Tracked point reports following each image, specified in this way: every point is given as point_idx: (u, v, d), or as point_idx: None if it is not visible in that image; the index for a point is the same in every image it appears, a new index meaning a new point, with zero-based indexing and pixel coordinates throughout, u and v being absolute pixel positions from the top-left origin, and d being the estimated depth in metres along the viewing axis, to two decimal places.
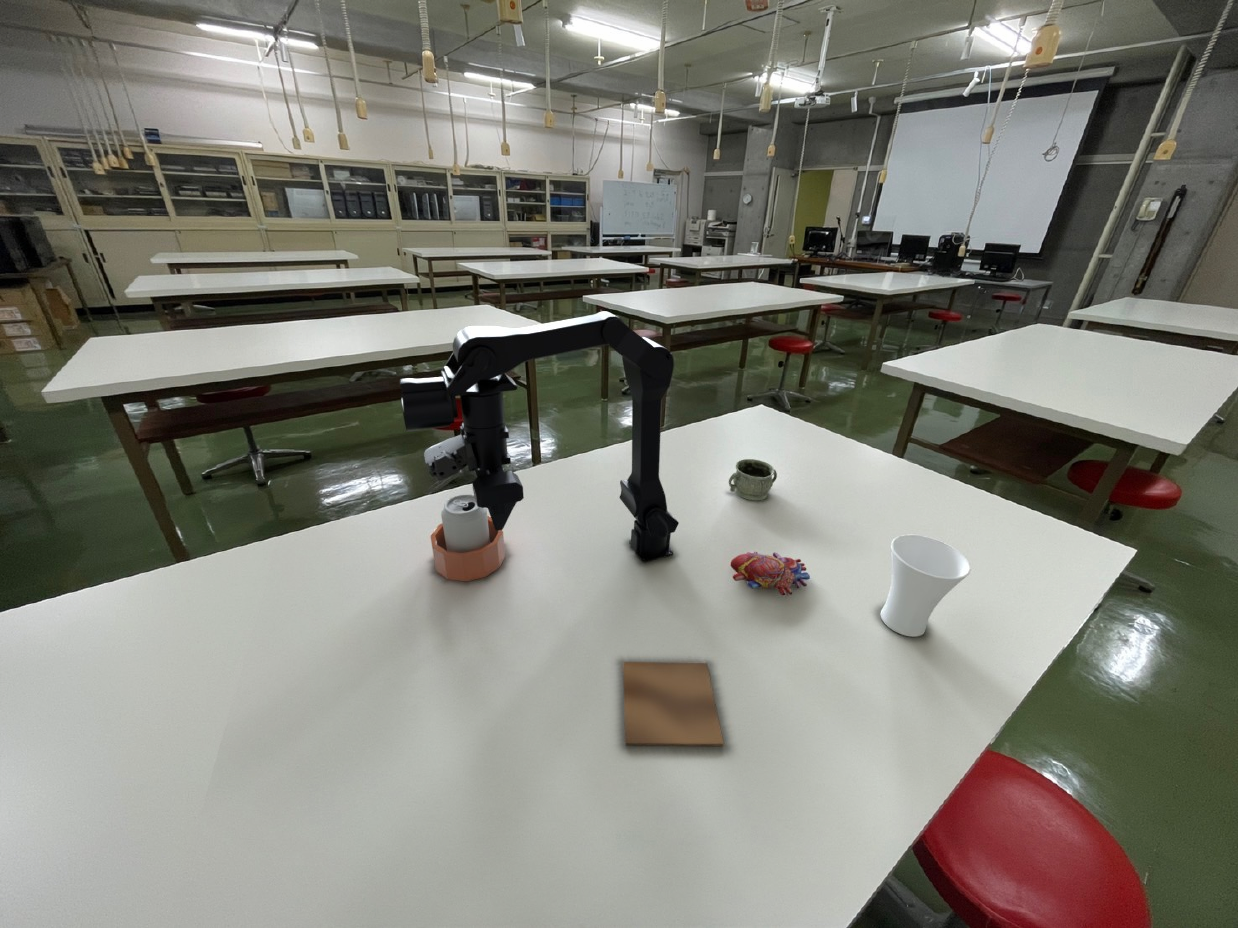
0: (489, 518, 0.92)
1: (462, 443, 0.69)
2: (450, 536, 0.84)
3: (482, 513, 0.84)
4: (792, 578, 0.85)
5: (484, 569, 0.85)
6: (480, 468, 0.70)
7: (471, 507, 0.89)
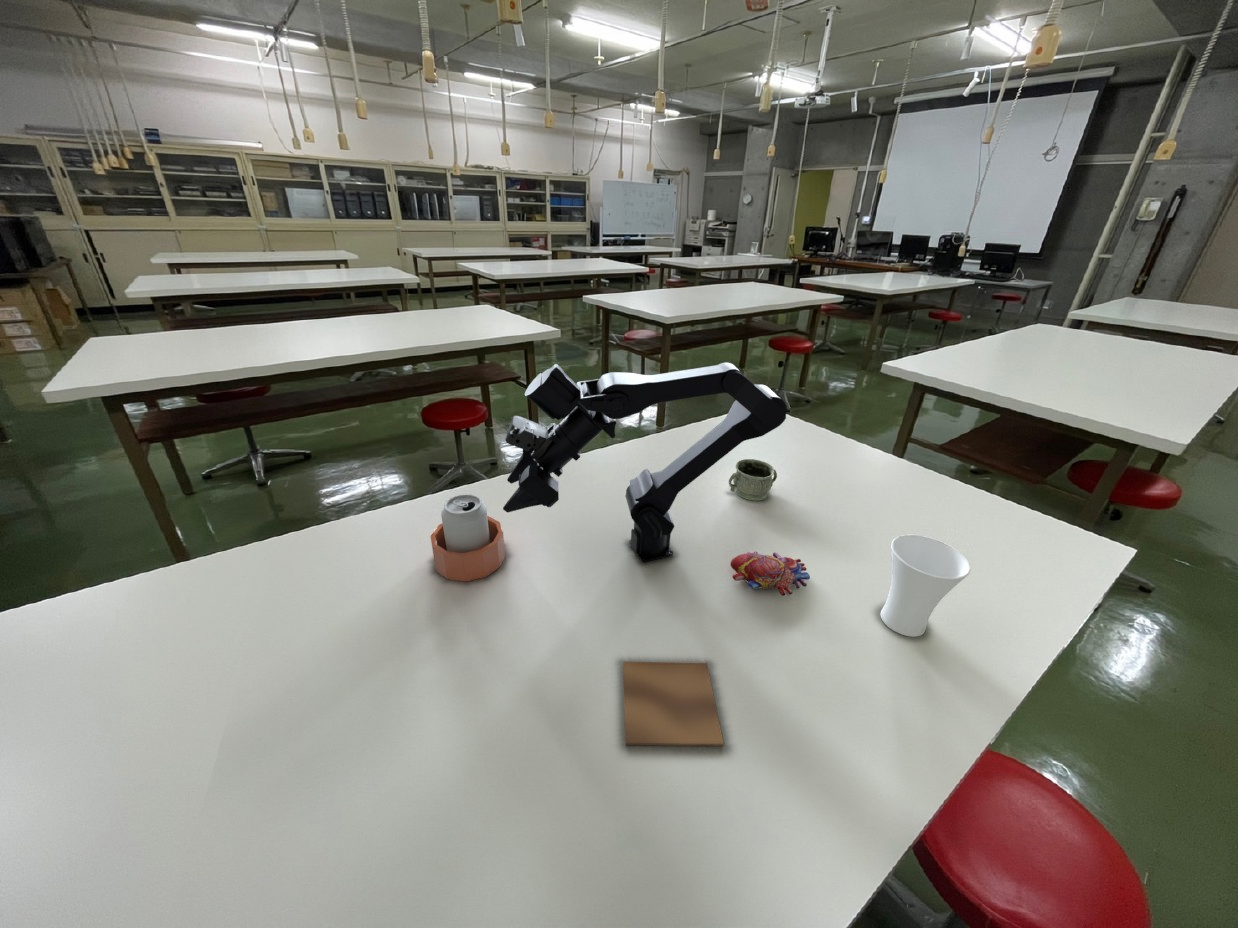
0: (489, 518, 0.92)
1: (545, 435, 0.79)
2: (450, 536, 0.84)
3: (482, 513, 0.84)
4: (792, 578, 0.85)
5: (484, 569, 0.85)
6: (538, 461, 0.80)
7: (471, 507, 0.89)
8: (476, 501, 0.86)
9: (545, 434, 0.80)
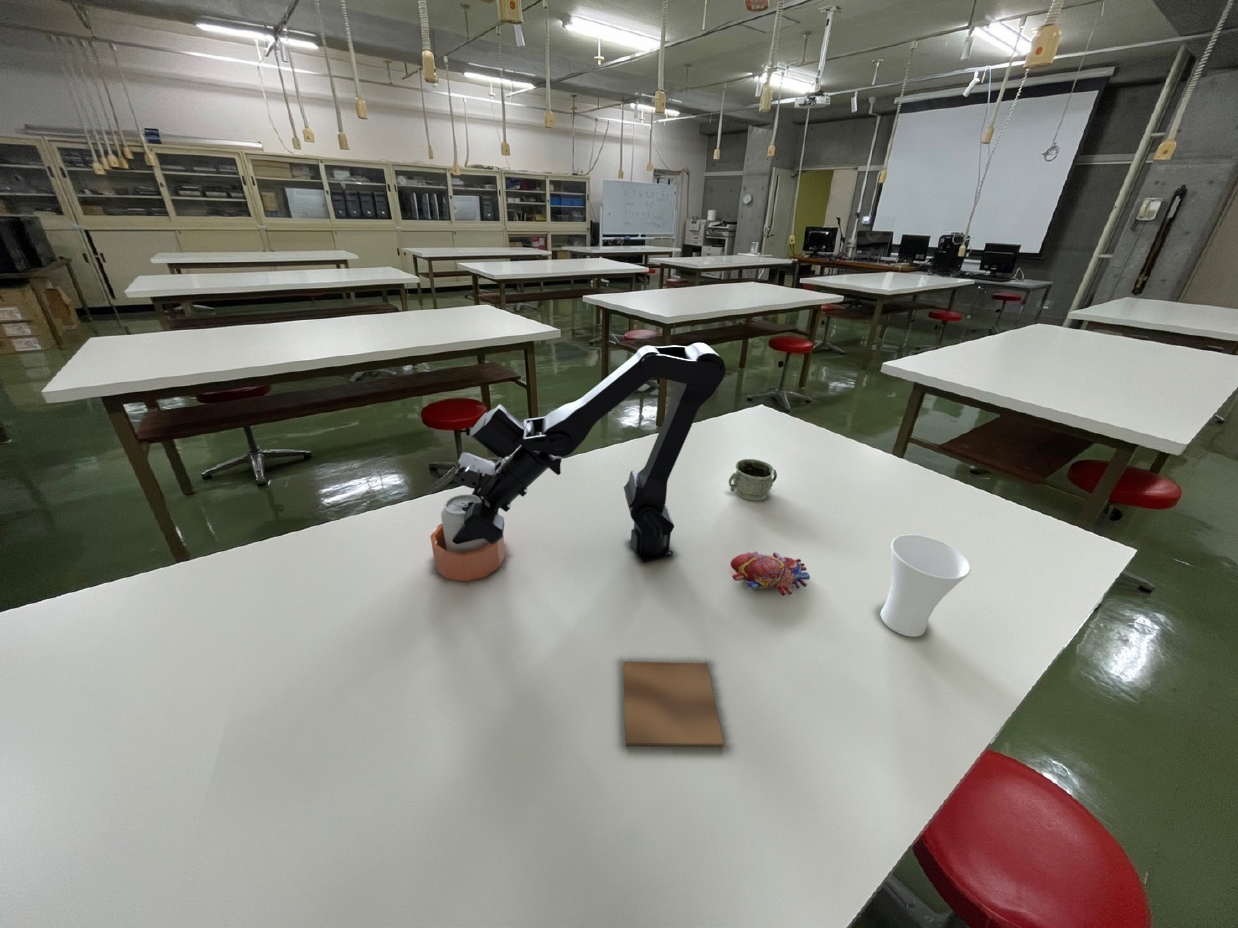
0: None
1: (492, 472, 0.81)
2: (450, 536, 0.84)
3: None
4: (792, 578, 0.85)
5: (484, 569, 0.85)
6: (485, 497, 0.82)
7: None
8: (476, 501, 0.86)
9: (492, 471, 0.82)
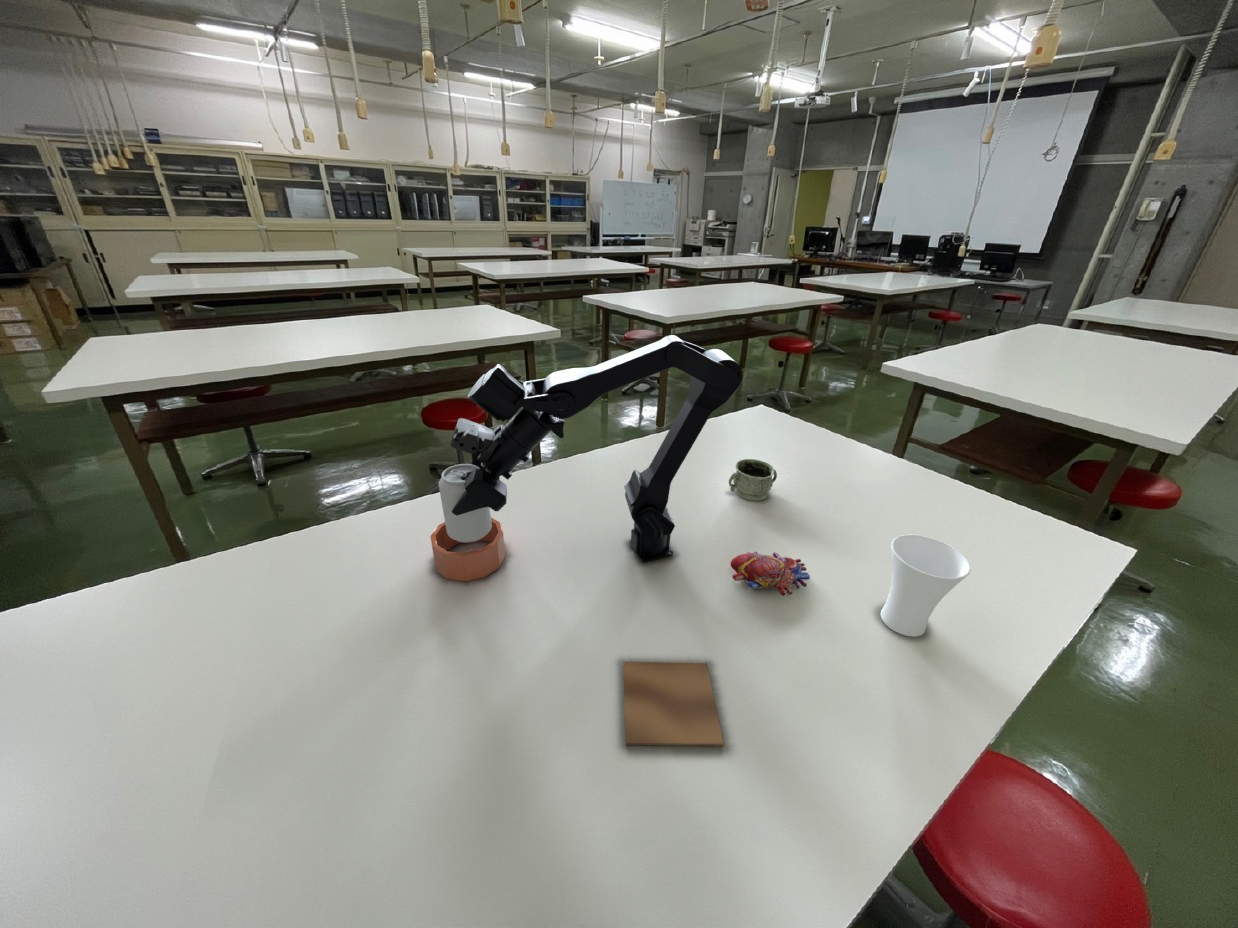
0: None
1: (491, 437, 0.77)
2: (449, 507, 0.80)
3: None
4: (792, 578, 0.85)
5: (484, 569, 0.85)
6: (486, 464, 0.78)
7: None
8: None
9: (492, 436, 0.78)
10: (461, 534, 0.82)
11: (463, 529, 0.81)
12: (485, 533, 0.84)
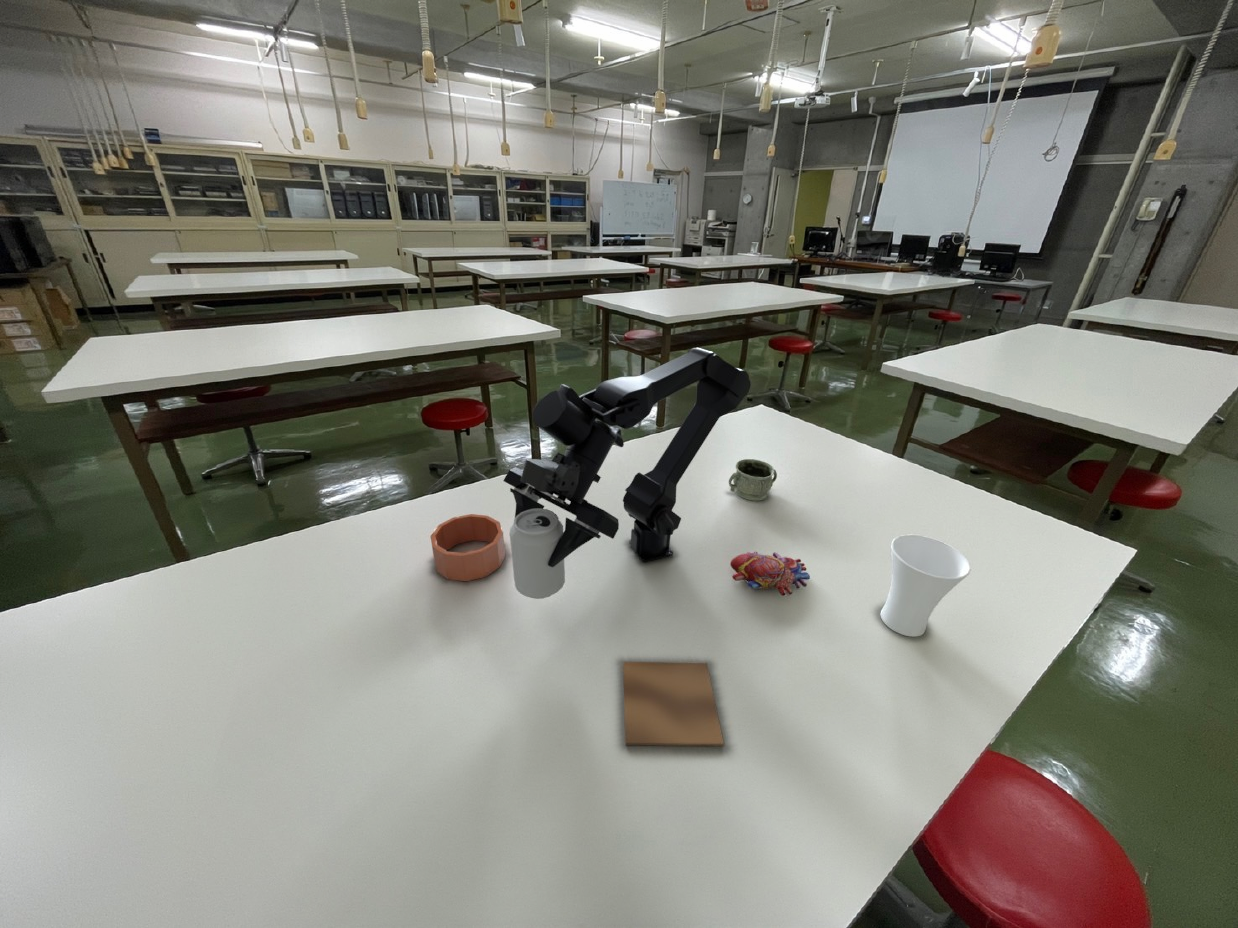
0: (489, 518, 0.92)
1: None
2: (542, 562, 0.68)
3: (560, 521, 0.71)
4: (792, 578, 0.85)
5: (484, 569, 0.85)
6: (570, 498, 0.70)
7: None
8: (541, 513, 0.72)
9: None
10: (552, 587, 0.71)
11: (555, 580, 0.71)
12: None
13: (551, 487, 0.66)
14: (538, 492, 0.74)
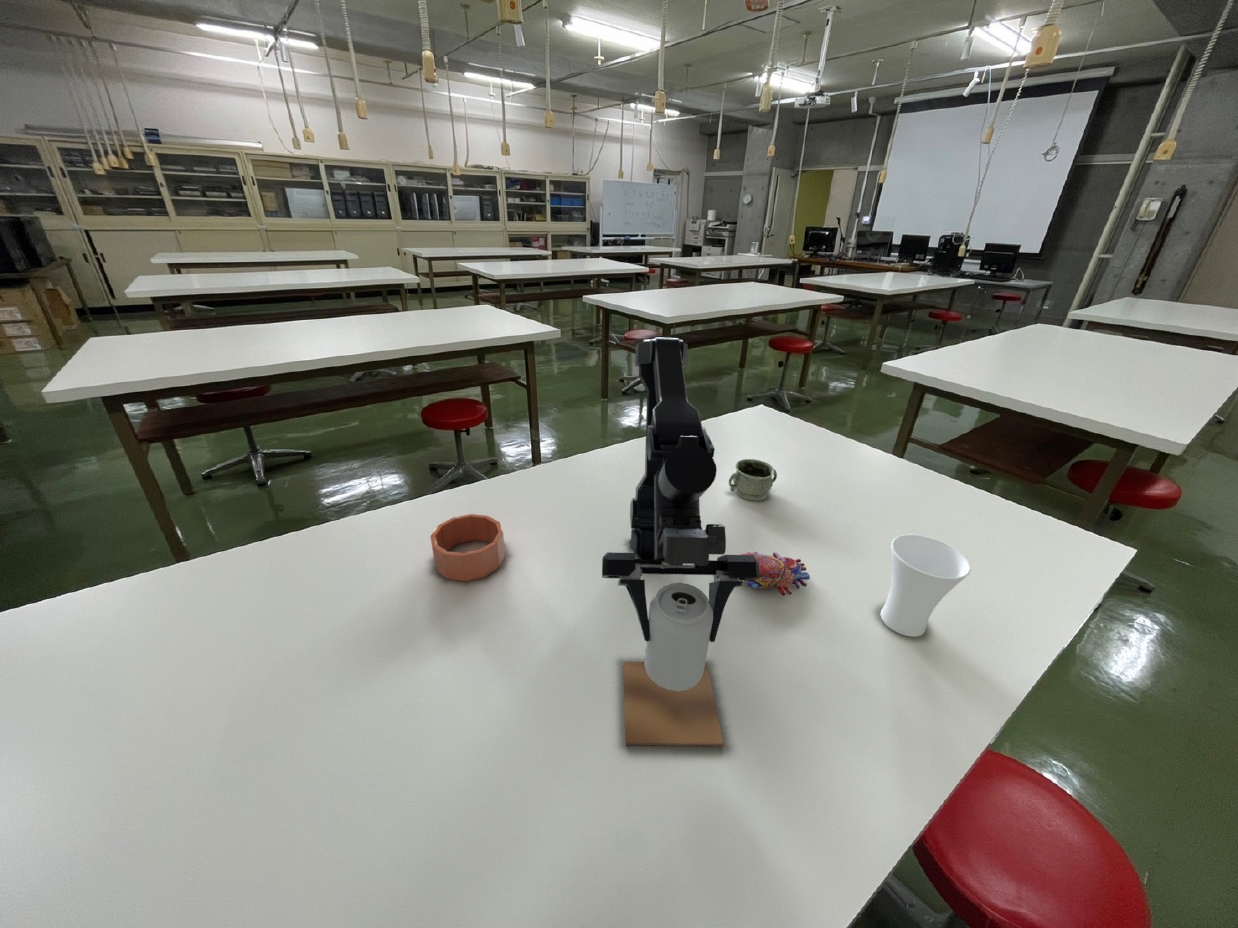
0: (489, 518, 0.92)
1: (690, 527, 0.59)
2: (707, 642, 0.58)
3: None
4: (792, 578, 0.85)
5: (484, 569, 0.85)
6: None
7: None
8: (669, 591, 0.60)
9: (687, 527, 0.59)
10: None
11: None
12: None
13: None
14: (646, 569, 0.61)
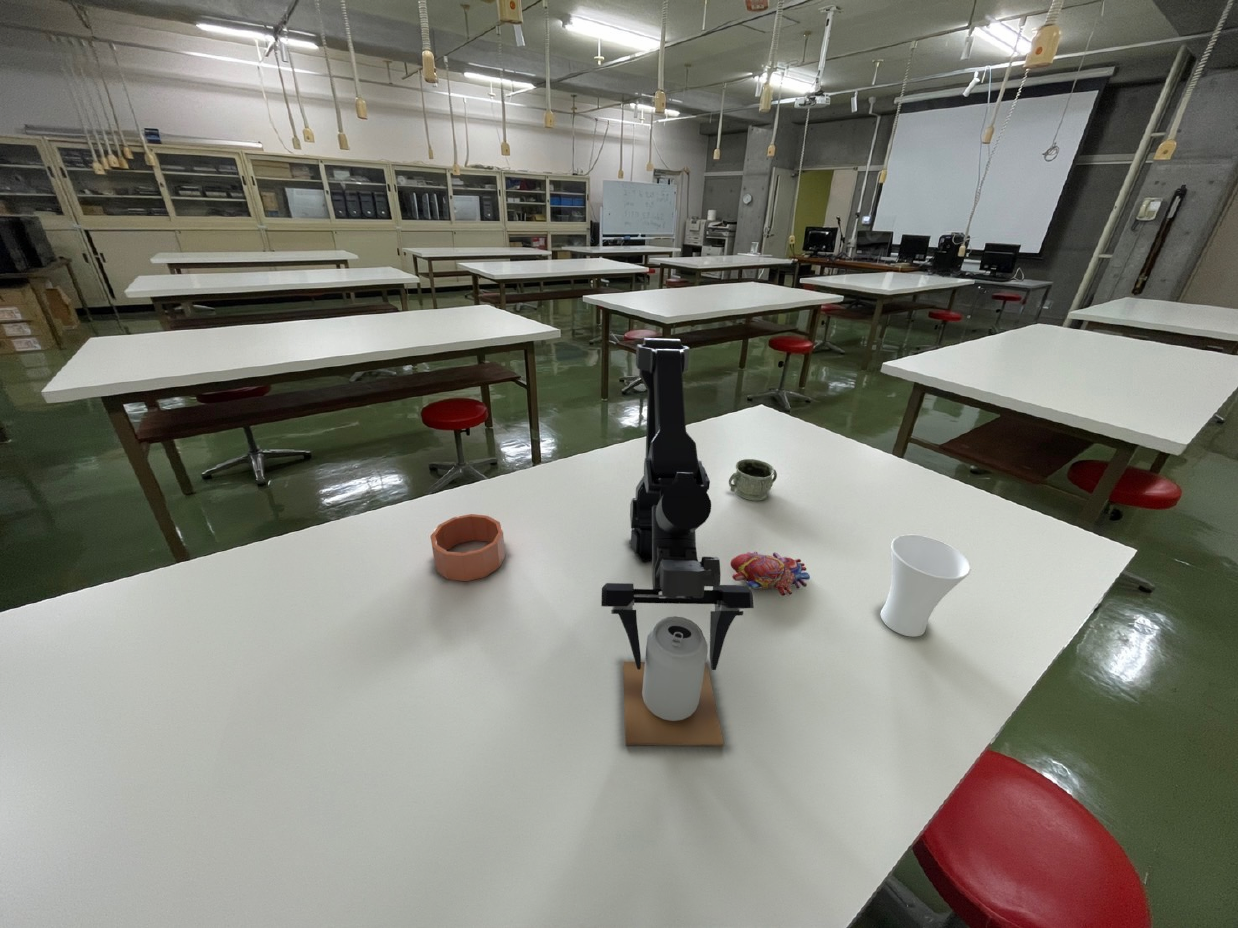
0: (489, 518, 0.92)
1: (686, 558, 0.62)
2: (702, 674, 0.61)
3: None
4: (792, 578, 0.85)
5: (484, 569, 0.85)
6: None
7: None
8: (666, 625, 0.62)
9: (683, 559, 0.62)
10: None
11: None
12: None
13: None
14: (644, 599, 0.63)
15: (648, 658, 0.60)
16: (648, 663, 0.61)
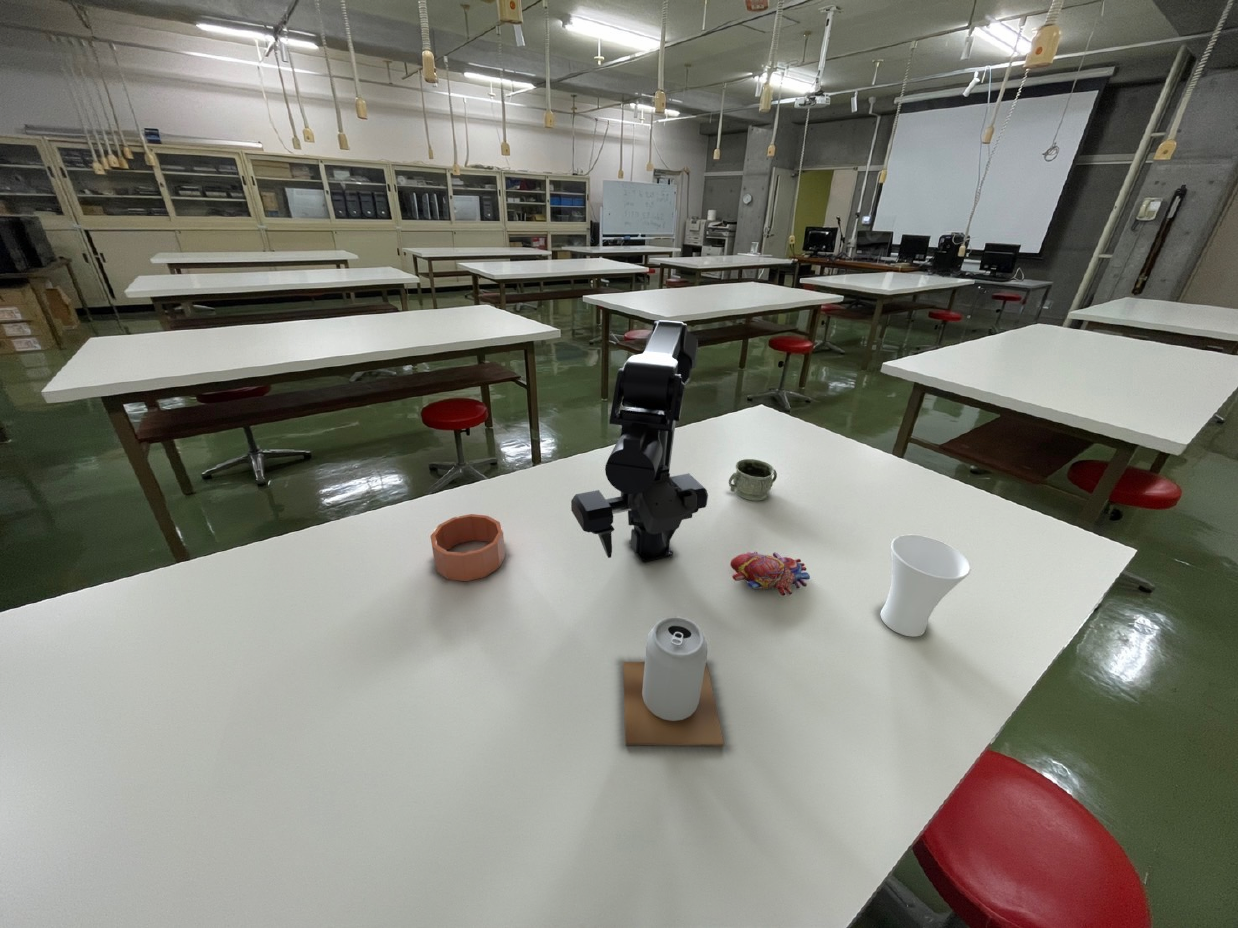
0: (489, 518, 0.92)
1: (661, 482, 0.65)
2: (702, 674, 0.61)
3: None
4: (792, 578, 0.85)
5: (484, 569, 0.85)
6: None
7: None
8: (666, 625, 0.62)
9: (658, 483, 0.65)
10: None
11: None
12: None
13: None
14: None
15: (648, 658, 0.60)
16: (648, 663, 0.61)
